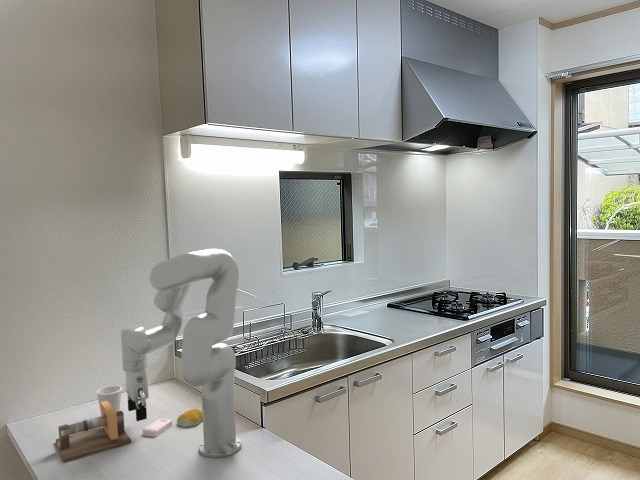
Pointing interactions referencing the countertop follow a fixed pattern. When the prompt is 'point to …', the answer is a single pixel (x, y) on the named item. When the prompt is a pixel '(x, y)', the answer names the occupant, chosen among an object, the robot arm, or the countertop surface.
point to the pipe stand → (89, 437)
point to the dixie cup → (110, 396)
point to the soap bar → (157, 427)
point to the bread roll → (190, 418)
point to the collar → (110, 420)
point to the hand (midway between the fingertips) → (137, 414)
